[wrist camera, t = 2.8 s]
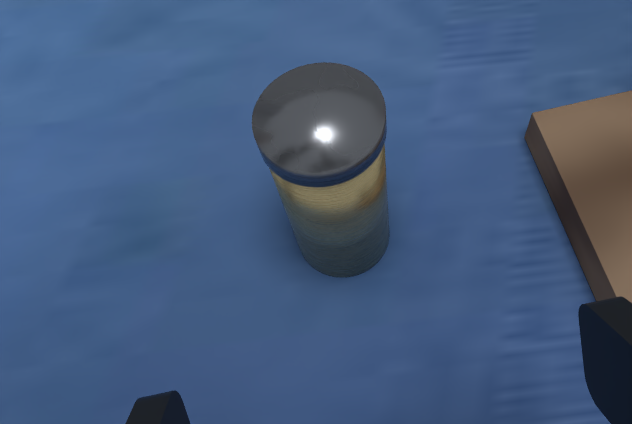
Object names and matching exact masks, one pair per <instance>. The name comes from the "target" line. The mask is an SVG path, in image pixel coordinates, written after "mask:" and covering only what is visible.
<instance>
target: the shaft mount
mask: <svg viewBox="0 0 632 424" xmlns="http://www.w3.org/2000/svg"><path fill="white" fill-rule="evenodd" d="M524 138H525V140H526V142H527V144H528V147H529V149H530V151H531V153H532V156H533V158H534V160H535V163H536V165H537V167H538V169H539V172H540V174H541V176H542V178H543V181H544V183H545V185H546V188H547V190H548V192H549V194H550V197H551V199H552V201H553V204H554V206H555V208H556V210H557V213H558V215H559V217H560V219H561V222H562V224H563V226H564V229H565V231H566V233H567V235H568V238H569V240H570V242H571V244H572V247H573V249H574V251H575V254H576V256H577V258H578V260H579V263H580V265H581V267H582V269H583V272H584V274H585V276H586V279H587V281H588V283H589V285H590V288H591V290H592V292H593V294H594V297H595V299H596V301H600V300H605V299H610V298H614V297H619V296H621V297H624V298H626V299H627V300H628V301H630V302H631V303H632V91H627V92H623V93H618V94H614V95H610V96H605V97H601V98H596V99H592V100H588V101H583V102H579V103H574V104H570V105H566V106H561V107H557V108H552V109H548V110H544V111H539V112H535V113H532V115H531V118H530V121H529V125H528V128H527V131H526V134H525V137H524Z"/></svg>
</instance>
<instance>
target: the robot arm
mask: <svg viewBox="0 0 632 424" xmlns="http://www.w3.org/2000/svg"><path fill="white" fill-rule="evenodd" d="M579 326H580V335H581V345H582V354H583V364H584V373H585V379H586V383H587V386H588V389H589V392H590V394H591V396H592V399H593V401H594V402H595V404H596V406H597V407H598V408H599V410H600V411H601V412H602V413H603V415H604V416H605V417H606V418H607V419H608V421H609V422H610V423H611V424H632V303H631V302H630V301H628V300H627V299H626V298H624V297H621V296H619V297H614V298H610V299H605V300H600V301H596V302H591V303H586V304H582V305H581V306H580V308H579ZM126 424H190V421H189V418H188V415H187V412H186V409H185V406H184V403H183V401H182V398H181V396H180V394H179V393H178V392H177V391H170V392H165V393H161V394H156V395H151V396H147V397H142V398H139V399H137V400H136V402H135V404H134V406H133V409H132V411H131V413H130V415H129V417H128V419H127V422H126Z"/></svg>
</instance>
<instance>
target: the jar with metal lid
mask: <svg viewBox="0 0 632 424" xmlns="http://www.w3.org/2000/svg"><path fill="white" fill-rule="evenodd" d="M252 130H253V134H254V137H255V140H256V143H257V145H258V148H259V150H260V153H261V155H262V158H263V160H264V161H265V163H266V164H267V166H268V167H269V169H270V171H271V174H272V176H273V179H274V182H275V184H276V187H277V190H278V192H279V195H280V197H281V200H282V203H283V205H284V208H285V211H286V213H287V216H288V218H289V221H290V224H291V226H292V229H293V232H294V234H295V237H296V239H297V242H298V245H299V247H300V250H301V252H302V255H303V256H304V258H305V260H306V261H307V262H308V263H309V264H310V265H311V266H312V267H313V268H314V269H316V270H317V271H319V272H321V273H323V274H326V275H329V276H333V277H350V276H355V275H359V274H361V273H363V272H365V271H367V270H369V269H370V268H372V267H373V266H374V265H375V264H376V263H377V262H378V261H379V260H380V259H381V258H382V256H383V255H384V253H385V251H386V248H387V246H388V242H389V221H388V202H387V183H386V164H385V144H384V143H385V139H386V132H387V128H386V107H385V102H384V98H383V95H382V93H381V91H380V89H379V88H378V86H377V85H376V84H375V83H374V81H373V80H372V79H370V78H369V77H368V76H367V75H365V74H364V73H362V72H361V71H359V70H357V69H355V68H352V67H350V66H347V65H342V64H337V63H313V64H308V65H304V66H300V67H297V68H295V69H292V70H290V71H288V72H286V73H284V74H283V75H281V76H279V77H278V78H277V79H275V80H274V81H273V82H272V83H270V85H269V86H268V87H267V88H266V89H265V90H264V91H263V93H262V94H261V95H260V97H259V99H258V100H257V102H256V105H255V107H254V111H253V115H252Z"/></svg>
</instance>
